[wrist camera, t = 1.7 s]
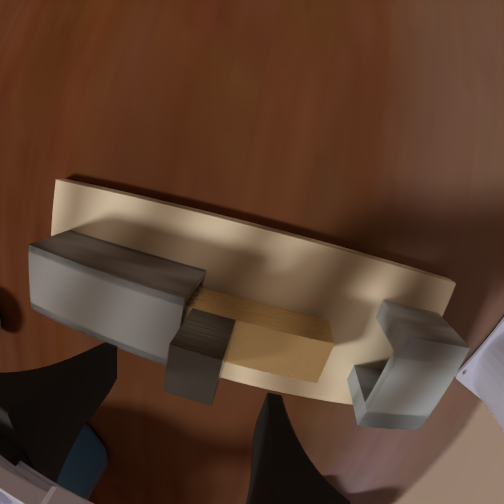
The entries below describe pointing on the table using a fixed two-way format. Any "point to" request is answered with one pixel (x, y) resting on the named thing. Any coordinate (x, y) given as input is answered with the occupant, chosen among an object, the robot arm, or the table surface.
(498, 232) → the table surface
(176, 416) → the table surface
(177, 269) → the grey blocks on plank
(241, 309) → the tan flat block
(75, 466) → the wine bottle
